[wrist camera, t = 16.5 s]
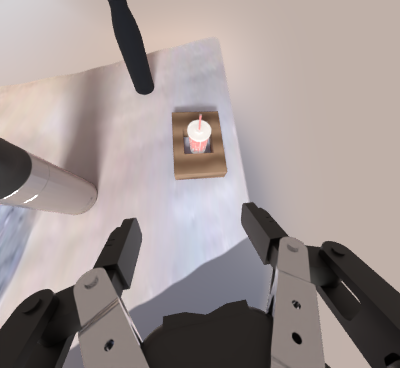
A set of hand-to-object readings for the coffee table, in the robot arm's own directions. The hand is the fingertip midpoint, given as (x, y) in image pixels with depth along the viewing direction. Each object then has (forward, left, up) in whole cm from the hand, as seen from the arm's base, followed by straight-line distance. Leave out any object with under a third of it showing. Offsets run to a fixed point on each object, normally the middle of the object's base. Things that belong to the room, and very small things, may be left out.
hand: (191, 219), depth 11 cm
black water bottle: (-39, +31, -29) cm, 58 cm away
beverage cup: (-11, +21, -29) cm, 37 cm away
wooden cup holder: (-11, +21, -29) cm, 37 cm away
